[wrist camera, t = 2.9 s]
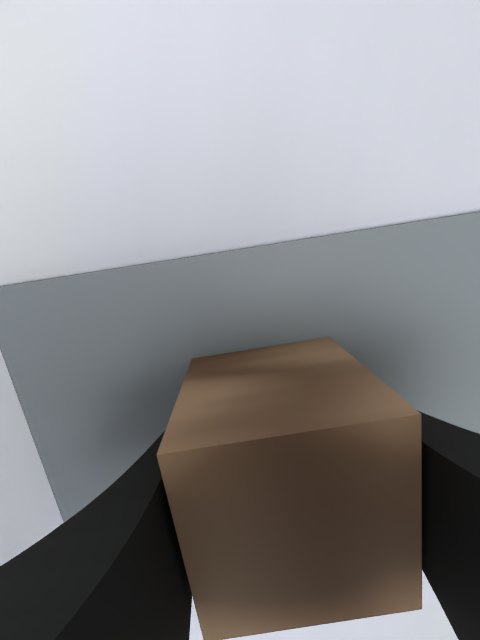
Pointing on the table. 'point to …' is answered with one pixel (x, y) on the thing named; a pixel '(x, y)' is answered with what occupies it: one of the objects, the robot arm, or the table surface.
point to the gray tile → (237, 335)
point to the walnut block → (293, 490)
